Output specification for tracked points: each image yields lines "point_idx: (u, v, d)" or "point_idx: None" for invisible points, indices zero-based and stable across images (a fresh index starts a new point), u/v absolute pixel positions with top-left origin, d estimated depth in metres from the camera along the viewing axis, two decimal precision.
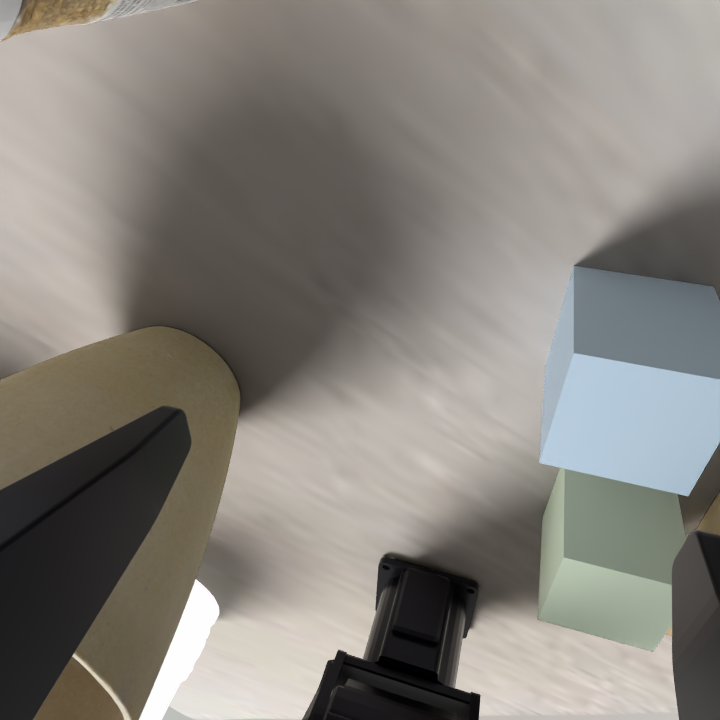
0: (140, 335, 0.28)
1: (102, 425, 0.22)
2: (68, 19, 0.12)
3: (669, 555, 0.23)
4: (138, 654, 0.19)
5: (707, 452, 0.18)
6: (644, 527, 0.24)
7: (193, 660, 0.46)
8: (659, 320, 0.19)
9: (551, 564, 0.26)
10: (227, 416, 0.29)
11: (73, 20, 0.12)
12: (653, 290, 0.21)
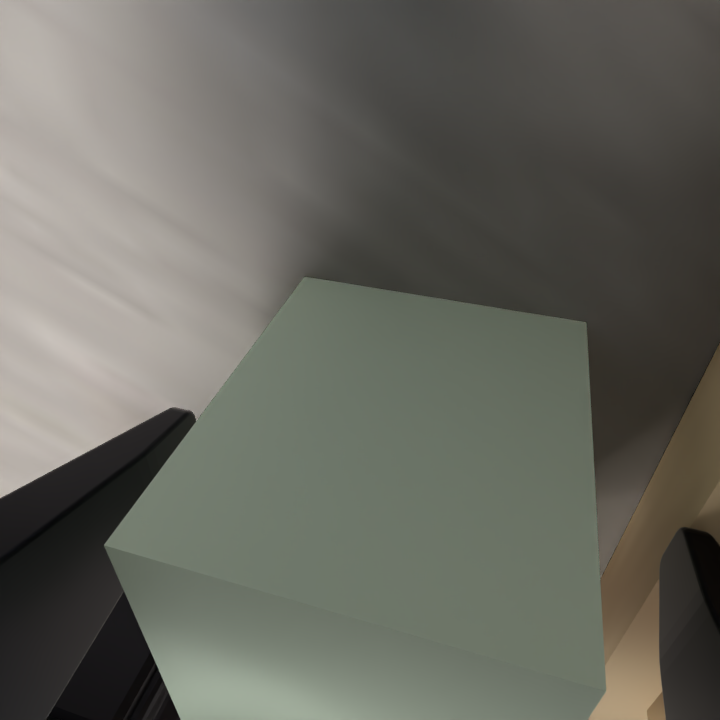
0: None
1: None
2: None
3: (523, 533, 0.06)
4: None
5: None
6: (456, 443, 0.07)
7: None
8: None
9: None
10: None
11: None
12: None
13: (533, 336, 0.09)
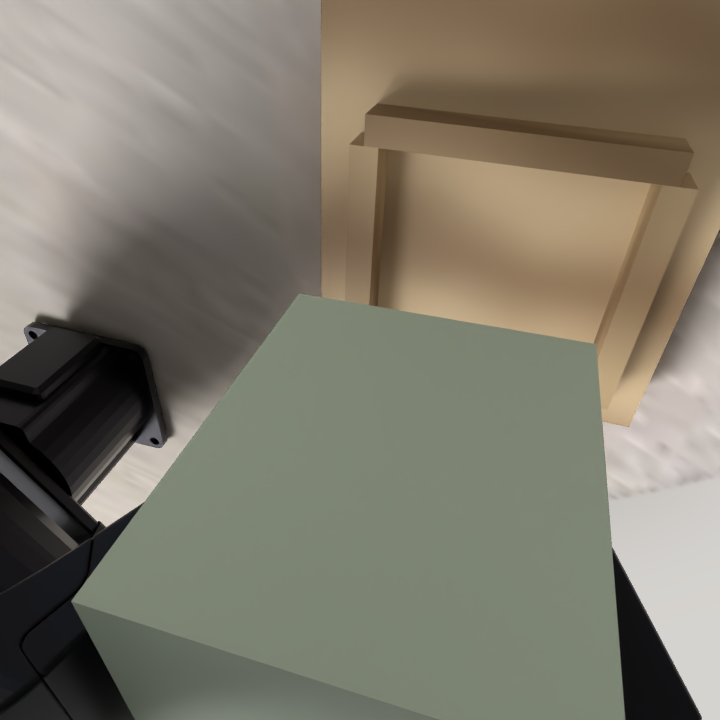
0: None
1: None
2: None
3: (533, 588, 0.06)
4: None
5: None
6: (459, 481, 0.07)
7: None
8: None
9: None
10: None
11: None
12: None
13: (540, 361, 0.09)
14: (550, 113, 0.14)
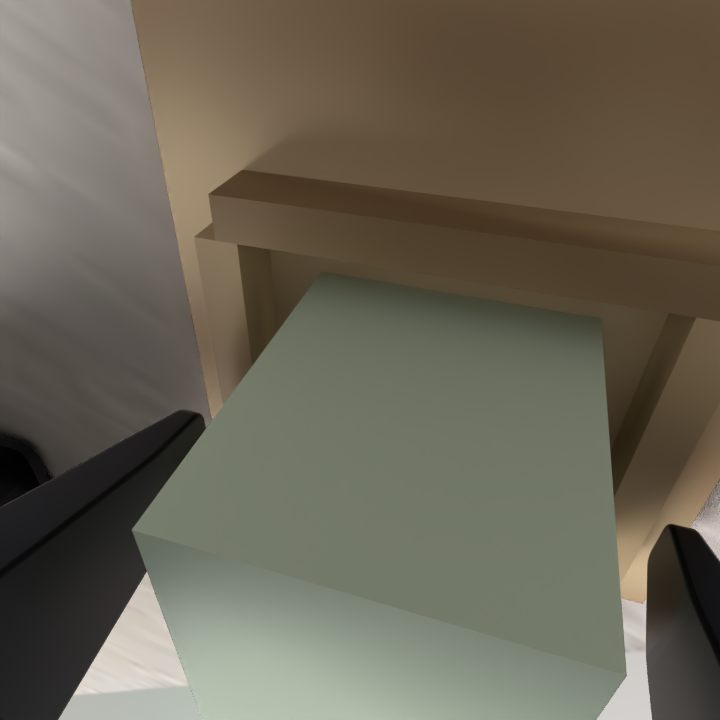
0: None
1: None
2: None
3: (542, 523, 0.06)
4: None
5: None
6: (475, 436, 0.07)
7: None
8: None
9: None
10: None
11: None
12: None
13: (548, 332, 0.09)
14: (508, 189, 0.09)
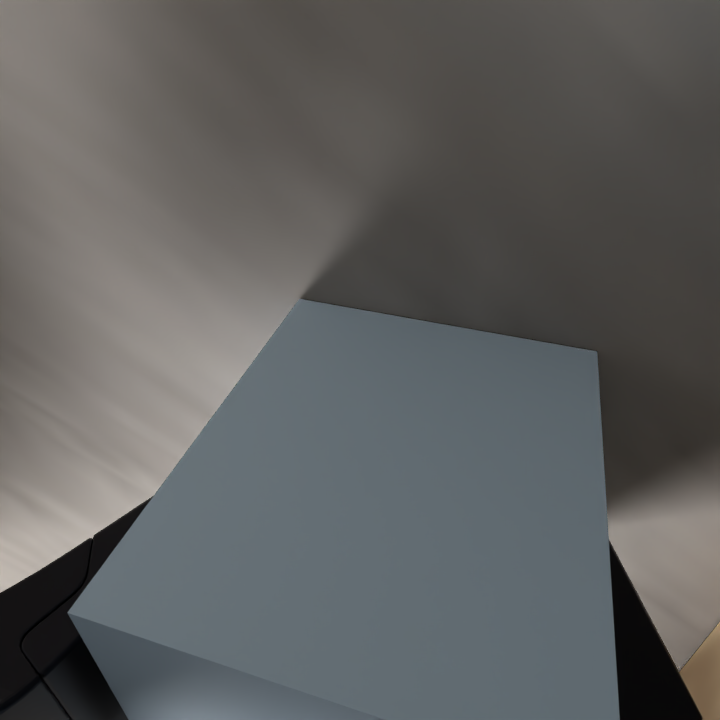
0: None
1: None
2: None
3: None
4: None
5: None
6: None
7: None
8: (416, 464, 0.07)
9: None
10: None
11: None
12: (448, 364, 0.09)
13: None
14: None
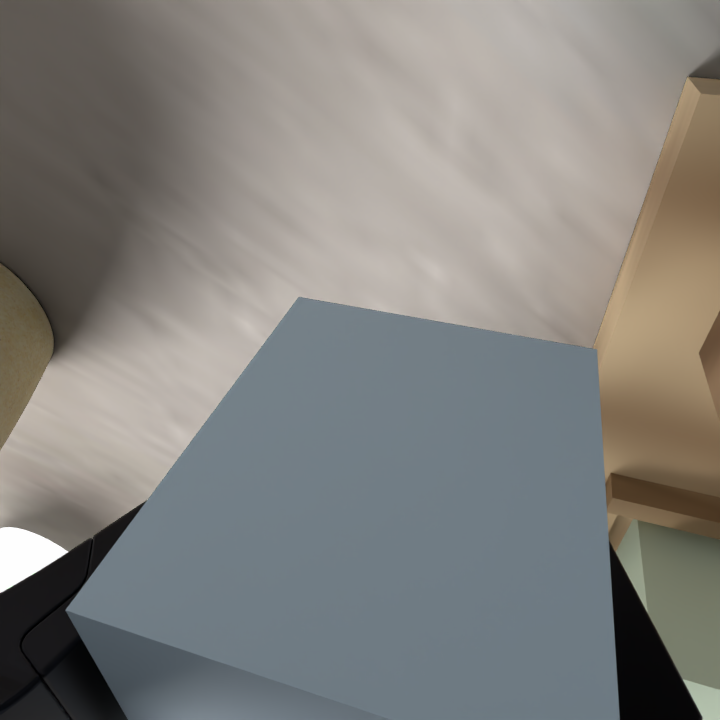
0: None
1: None
2: None
3: None
4: None
5: None
6: None
7: None
8: (415, 462, 0.07)
9: None
10: (11, 342, 0.25)
11: None
12: (447, 362, 0.09)
13: None
14: None
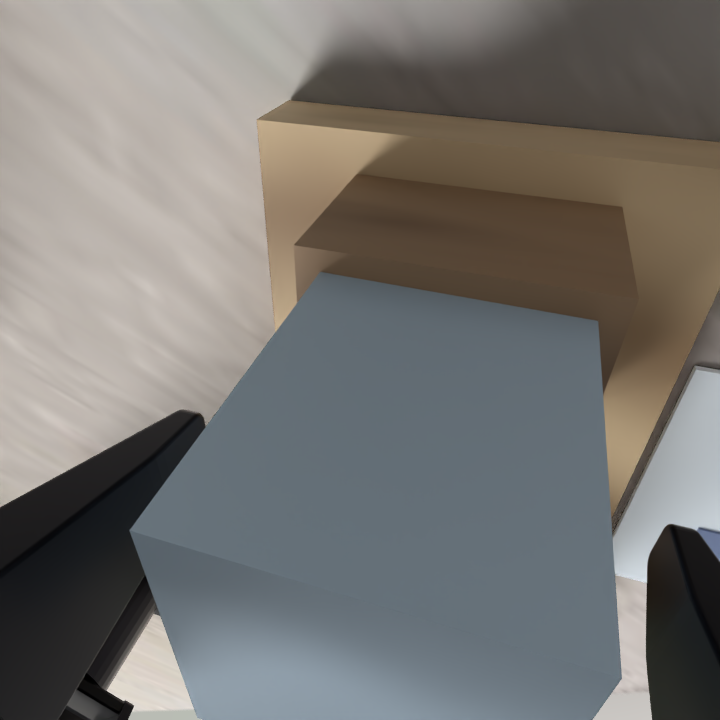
0: None
1: None
2: None
3: None
4: None
5: None
6: None
7: None
8: (434, 414, 0.08)
9: None
10: None
11: None
12: (460, 330, 0.09)
13: None
14: None
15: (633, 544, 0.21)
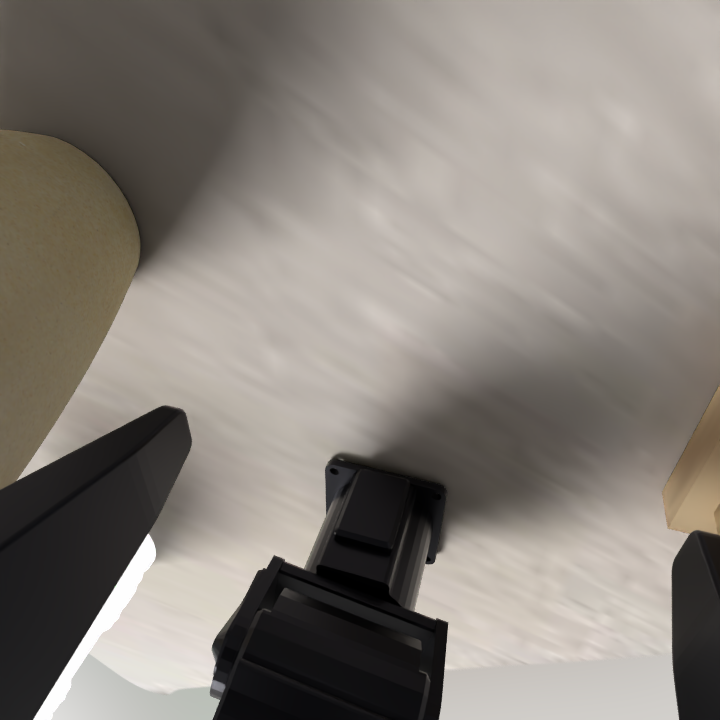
0: None
1: None
2: None
3: None
4: None
5: None
6: None
7: (119, 602, 0.39)
8: None
9: None
10: (107, 236, 0.22)
11: None
12: None
13: None
14: None
15: None
